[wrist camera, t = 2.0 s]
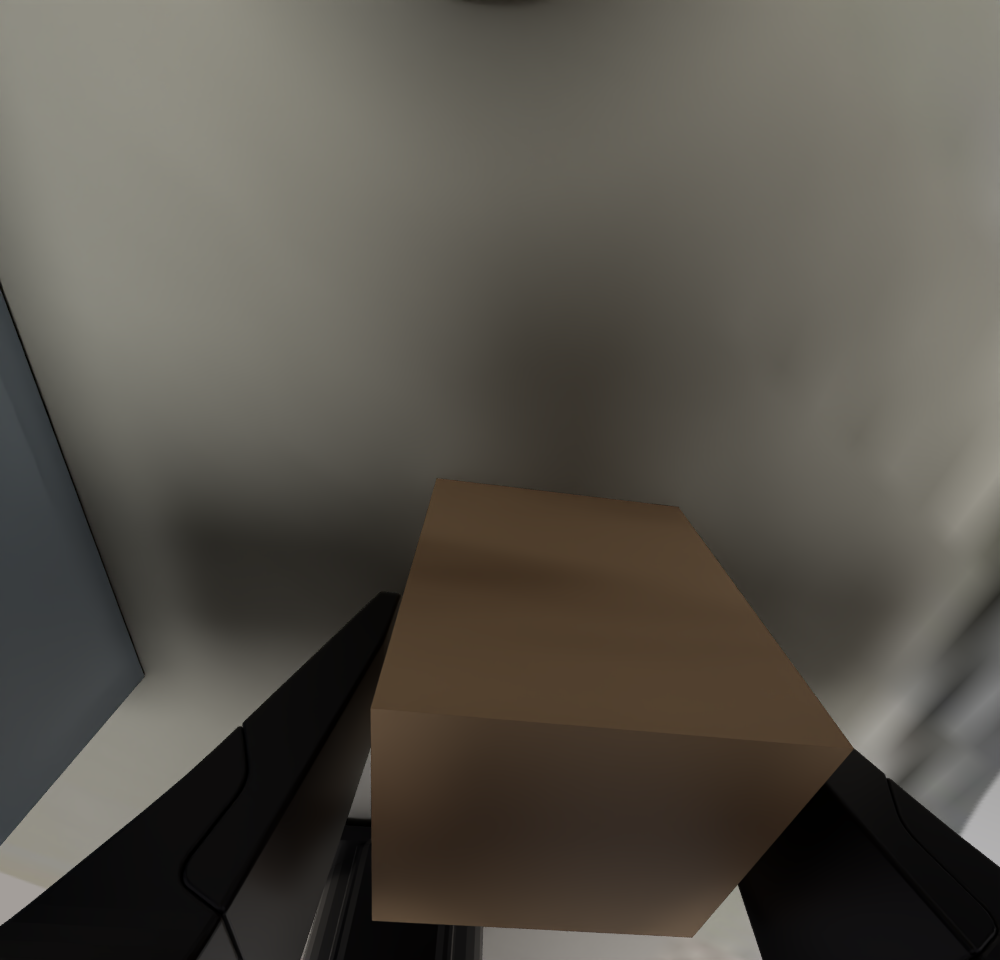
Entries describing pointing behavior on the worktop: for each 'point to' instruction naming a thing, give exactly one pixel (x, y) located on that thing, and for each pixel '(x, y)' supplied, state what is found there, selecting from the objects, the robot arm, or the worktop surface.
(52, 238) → the worktop surface
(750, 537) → the worktop surface
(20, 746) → the box
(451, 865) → the walnut cube
